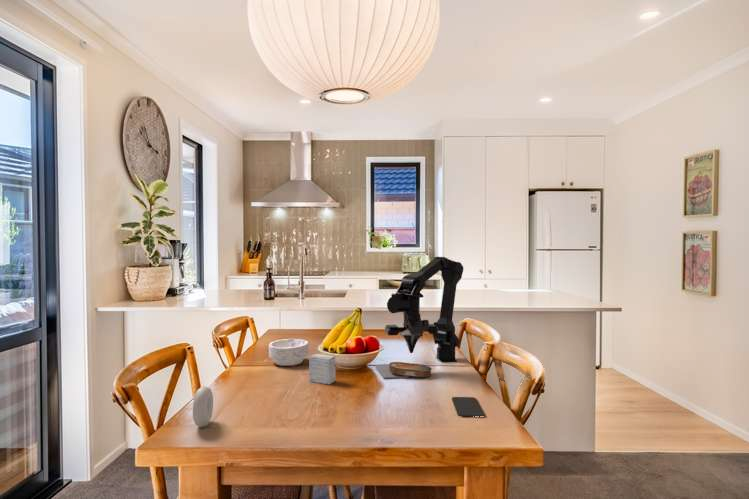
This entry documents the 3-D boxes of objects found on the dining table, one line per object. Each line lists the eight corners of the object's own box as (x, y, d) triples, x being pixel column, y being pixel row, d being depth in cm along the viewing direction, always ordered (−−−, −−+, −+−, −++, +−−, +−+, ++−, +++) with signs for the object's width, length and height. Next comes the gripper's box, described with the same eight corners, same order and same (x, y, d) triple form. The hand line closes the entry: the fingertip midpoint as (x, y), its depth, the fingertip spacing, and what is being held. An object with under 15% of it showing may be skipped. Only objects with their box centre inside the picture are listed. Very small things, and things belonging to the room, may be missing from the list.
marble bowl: (260, 365, 173) (260, 345, 173) (283, 356, 187) (283, 337, 187) (295, 370, 167) (295, 349, 167) (315, 360, 181) (315, 340, 181)
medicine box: (335, 381, 155) (335, 356, 155) (329, 385, 151) (329, 359, 151) (315, 378, 158) (316, 353, 158) (308, 381, 154) (308, 356, 154)
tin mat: (397, 365, 175) (397, 363, 175) (408, 377, 159) (408, 376, 159) (374, 366, 173) (374, 364, 173) (383, 379, 158) (383, 377, 158)
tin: (430, 365, 167) (432, 370, 158) (429, 374, 166) (431, 379, 158) (389, 360, 167) (389, 365, 159) (388, 369, 167) (388, 374, 159)
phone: (475, 397, 140) (485, 415, 125) (475, 399, 140) (485, 418, 125) (451, 396, 140) (458, 415, 125) (451, 399, 140) (458, 418, 125)
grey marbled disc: (201, 418, 123) (201, 381, 123) (214, 417, 123) (214, 380, 123) (190, 434, 113) (190, 394, 113) (205, 433, 113) (205, 393, 113)
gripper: (391, 314, 158) (391, 359, 158) (443, 313, 161) (442, 357, 162) (384, 309, 168) (384, 351, 169) (433, 308, 172) (432, 349, 172)
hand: (411, 352), depth 168 cm, fingers closed
